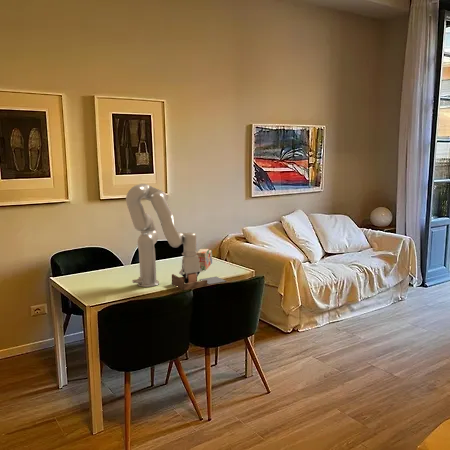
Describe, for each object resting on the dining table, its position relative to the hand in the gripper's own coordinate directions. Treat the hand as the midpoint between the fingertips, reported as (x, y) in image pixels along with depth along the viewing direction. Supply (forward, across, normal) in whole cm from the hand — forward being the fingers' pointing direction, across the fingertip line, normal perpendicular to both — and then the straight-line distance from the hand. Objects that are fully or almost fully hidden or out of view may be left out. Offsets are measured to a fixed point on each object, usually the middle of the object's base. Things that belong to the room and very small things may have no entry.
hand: (190, 283), depth 275 cm
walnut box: (+1, -1, 0) cm, 1 cm away
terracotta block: (+1, 0, 0) cm, 1 cm away
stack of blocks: (+1, +28, +34) cm, 43 cm away
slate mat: (+1, +15, 0) cm, 15 cm away
